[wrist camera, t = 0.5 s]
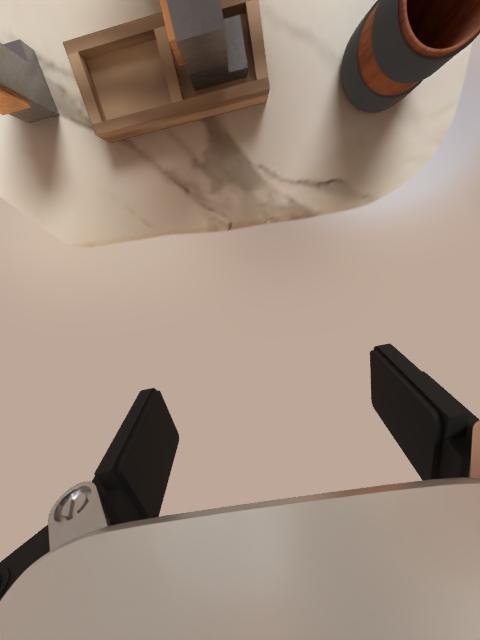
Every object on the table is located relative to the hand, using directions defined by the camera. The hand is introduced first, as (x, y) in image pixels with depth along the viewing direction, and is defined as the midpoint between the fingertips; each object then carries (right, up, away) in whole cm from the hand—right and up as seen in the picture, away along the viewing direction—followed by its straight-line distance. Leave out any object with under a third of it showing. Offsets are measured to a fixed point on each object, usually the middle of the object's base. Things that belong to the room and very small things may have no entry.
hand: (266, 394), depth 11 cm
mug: (+15, +34, +18) cm, 41 cm away
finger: (-26, +31, +19) cm, 44 cm away
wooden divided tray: (-9, +31, +19) cm, 37 cm away
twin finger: (-4, +31, +16) cm, 35 cm away
